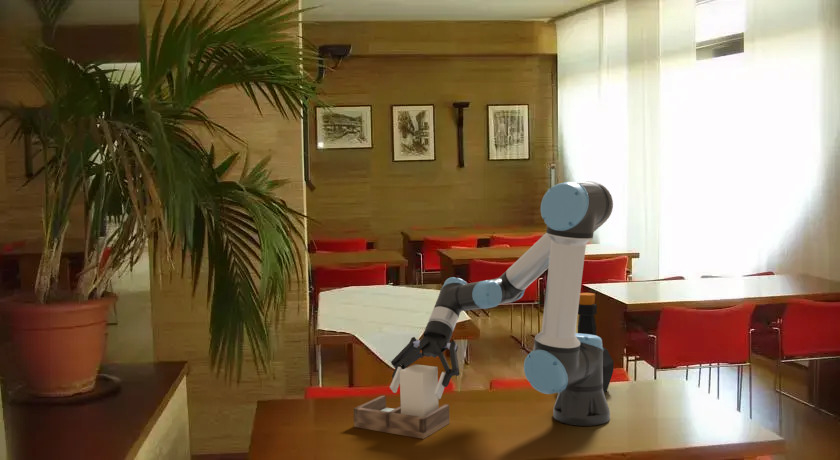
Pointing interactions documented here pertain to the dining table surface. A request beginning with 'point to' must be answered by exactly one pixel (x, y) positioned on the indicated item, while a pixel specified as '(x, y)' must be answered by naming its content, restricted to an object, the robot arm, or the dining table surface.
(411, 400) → the white block
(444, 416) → the rack
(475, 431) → the dining table surface
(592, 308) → the bottle
